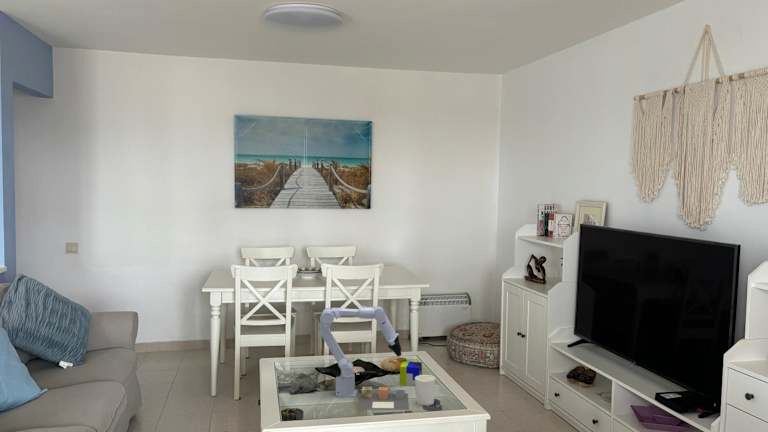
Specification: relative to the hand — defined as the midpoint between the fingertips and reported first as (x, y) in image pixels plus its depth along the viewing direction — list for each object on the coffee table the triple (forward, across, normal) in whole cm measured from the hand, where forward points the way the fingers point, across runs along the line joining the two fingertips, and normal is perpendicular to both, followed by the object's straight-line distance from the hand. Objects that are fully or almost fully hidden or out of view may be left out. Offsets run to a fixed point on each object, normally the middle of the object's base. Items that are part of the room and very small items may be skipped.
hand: (399, 353), depth 289 cm
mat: (+14, -13, +16) cm, 25 cm away
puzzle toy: (+22, +14, +4) cm, 26 cm away
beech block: (+10, -8, +23) cm, 27 cm away
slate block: (+17, -8, +9) cm, 21 cm away
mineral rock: (-4, 0, +52) cm, 52 cm away
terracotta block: (+14, -8, +16) cm, 23 cm away
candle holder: (+23, -14, -2) cm, 27 cm away
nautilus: (+20, +34, +10) cm, 41 cm away
